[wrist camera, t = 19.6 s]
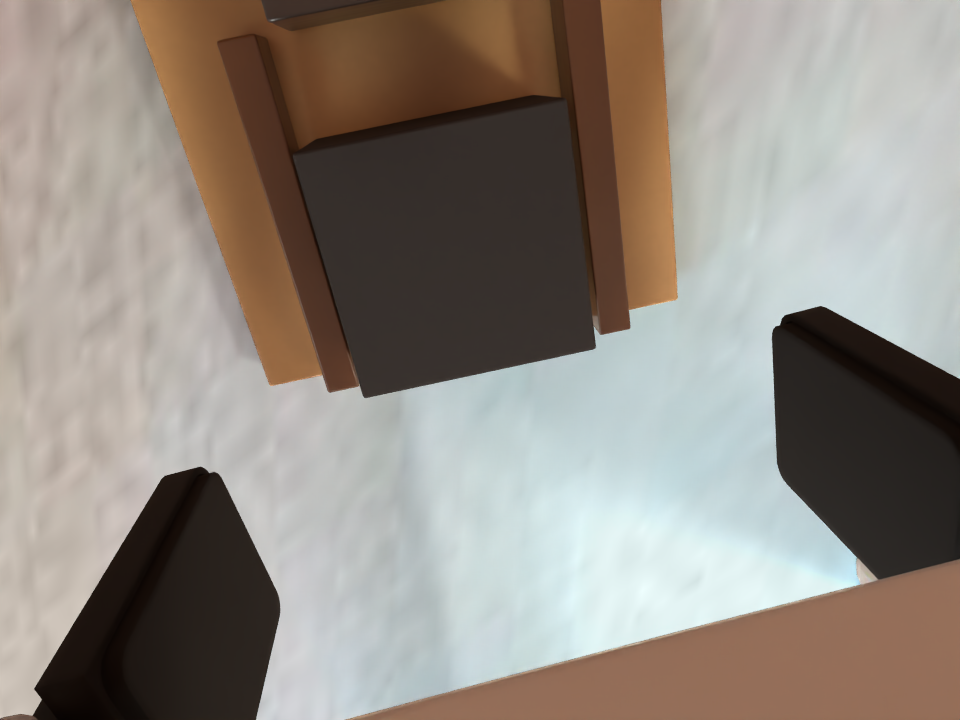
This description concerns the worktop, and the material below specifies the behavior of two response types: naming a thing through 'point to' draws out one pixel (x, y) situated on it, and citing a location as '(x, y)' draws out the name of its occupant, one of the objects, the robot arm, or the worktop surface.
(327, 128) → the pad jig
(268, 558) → the worktop surface
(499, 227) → the dark grey square block
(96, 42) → the worktop surface
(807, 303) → the worktop surface
